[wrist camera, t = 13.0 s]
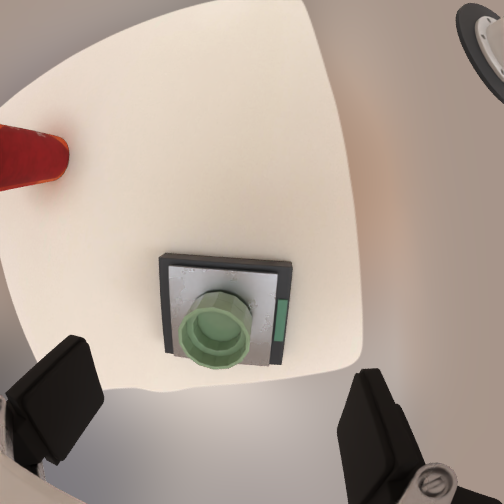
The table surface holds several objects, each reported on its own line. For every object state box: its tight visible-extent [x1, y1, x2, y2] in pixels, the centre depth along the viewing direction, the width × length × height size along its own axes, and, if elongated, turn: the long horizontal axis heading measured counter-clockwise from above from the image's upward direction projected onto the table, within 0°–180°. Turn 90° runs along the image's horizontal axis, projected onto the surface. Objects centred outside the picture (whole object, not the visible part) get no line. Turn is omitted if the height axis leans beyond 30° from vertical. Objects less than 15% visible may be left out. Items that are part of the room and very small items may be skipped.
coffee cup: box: [0, 124, 69, 191], centre depth 22 cm, size 8×8×15 cm
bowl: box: [178, 292, 253, 369], centre depth 27 cm, size 7×7×4 cm
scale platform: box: [169, 264, 278, 366], centre depth 30 cm, size 11×11×1 cm
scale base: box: [159, 253, 293, 365], centre depth 31 cm, size 14×12×2 cm
